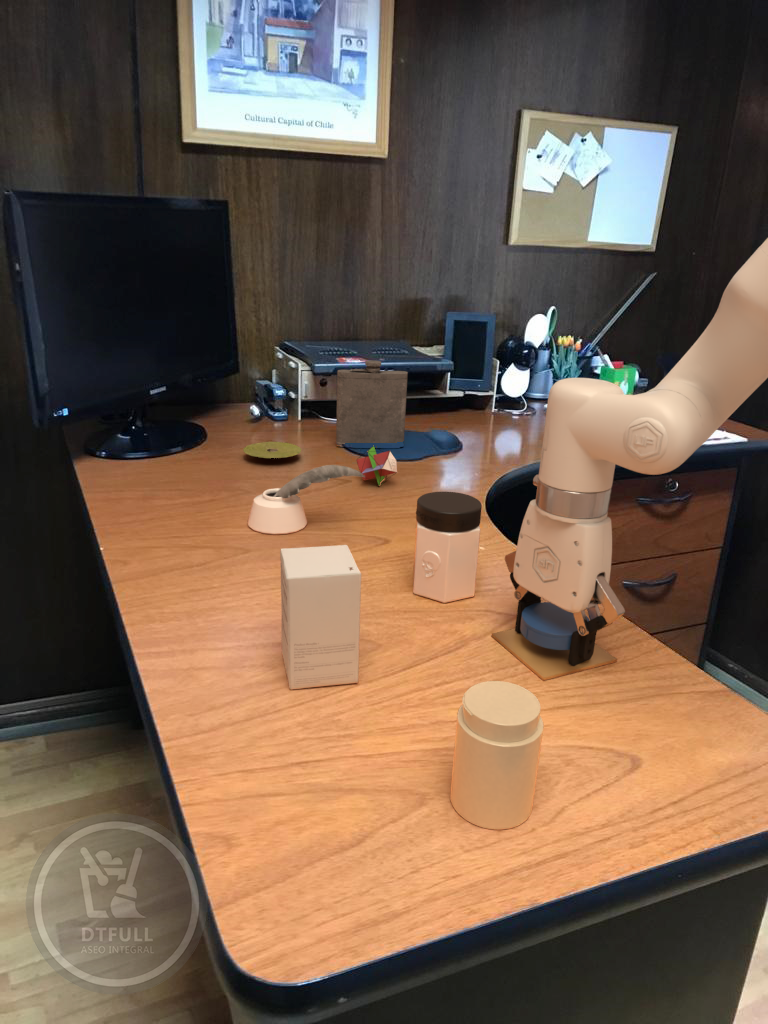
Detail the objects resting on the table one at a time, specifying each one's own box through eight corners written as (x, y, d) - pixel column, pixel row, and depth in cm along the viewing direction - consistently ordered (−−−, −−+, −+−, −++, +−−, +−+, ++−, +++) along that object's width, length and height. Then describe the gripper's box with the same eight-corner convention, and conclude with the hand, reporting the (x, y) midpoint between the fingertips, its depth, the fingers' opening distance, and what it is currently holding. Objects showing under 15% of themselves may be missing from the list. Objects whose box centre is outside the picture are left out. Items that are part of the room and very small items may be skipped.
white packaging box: (347, 647, 86) (349, 543, 81) (359, 685, 79) (363, 573, 75) (280, 653, 84) (279, 546, 80) (286, 691, 77) (286, 577, 73)
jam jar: (502, 764, 68) (513, 670, 65) (549, 815, 63) (564, 715, 59) (435, 784, 65) (443, 688, 62) (478, 840, 60) (489, 737, 56)
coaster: (560, 620, 94) (560, 618, 94) (617, 661, 85) (617, 658, 85) (491, 636, 90) (491, 633, 89) (543, 680, 81) (543, 677, 81)
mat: (312, 456, 154) (312, 447, 153) (279, 470, 144) (279, 460, 144) (265, 447, 159) (265, 438, 158) (231, 460, 149) (231, 451, 148)
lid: (546, 656, 82) (548, 640, 81) (506, 623, 88) (508, 609, 88) (601, 642, 85) (604, 627, 85) (559, 611, 91) (561, 597, 91)
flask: (405, 449, 162) (409, 363, 155) (336, 448, 160) (338, 361, 153) (402, 444, 165) (407, 360, 159) (335, 444, 163) (337, 358, 157)
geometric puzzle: (342, 473, 138) (369, 441, 134) (354, 462, 144) (380, 432, 140) (372, 500, 138) (400, 469, 134) (382, 488, 144) (409, 458, 141)
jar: (397, 590, 100) (401, 503, 95) (427, 568, 106) (432, 486, 102) (459, 609, 95) (467, 519, 91) (487, 585, 102) (495, 500, 98)
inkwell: (251, 512, 124) (250, 452, 120) (363, 515, 124) (365, 456, 121) (243, 534, 115) (241, 470, 111) (364, 537, 116) (366, 474, 112)
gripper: (489, 480, 86) (475, 621, 92) (616, 532, 72) (590, 692, 79) (536, 470, 90) (520, 606, 96) (665, 518, 77) (636, 671, 83)
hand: (552, 644), depth 87 cm, fingers closed on lid, 7 cm apart
